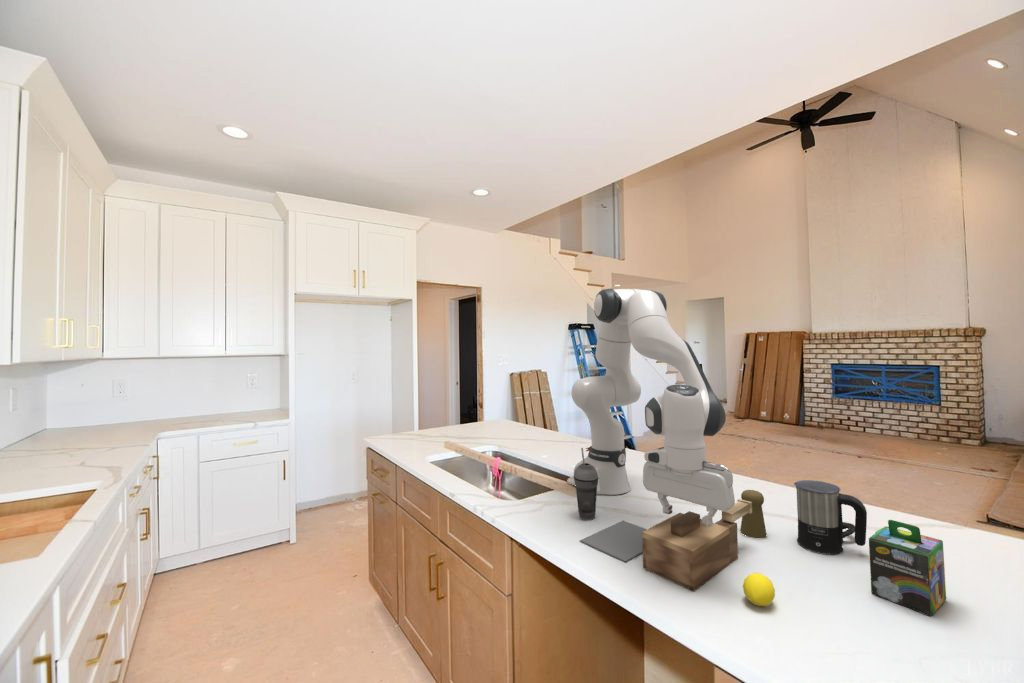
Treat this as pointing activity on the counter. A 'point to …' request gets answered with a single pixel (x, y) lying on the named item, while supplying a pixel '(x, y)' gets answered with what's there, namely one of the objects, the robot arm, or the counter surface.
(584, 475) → the beverage cup
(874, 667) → the counter surface
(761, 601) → the lemon
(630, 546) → the mat
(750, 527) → the olive chess pawn
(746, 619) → the counter surface
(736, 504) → the light wooden bar
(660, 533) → the lid
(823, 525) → the milk frother
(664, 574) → the brown wooden box
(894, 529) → the chalk box
